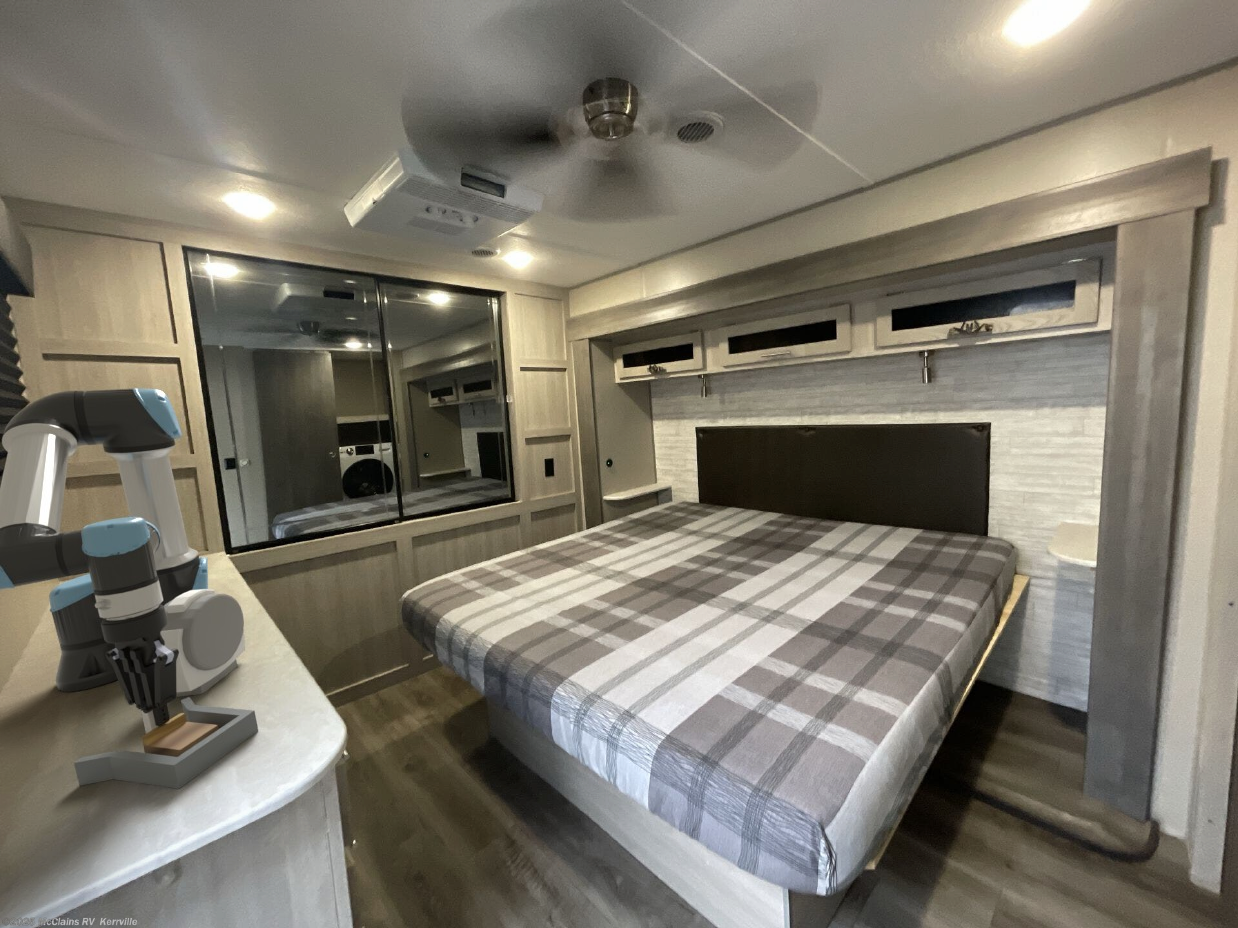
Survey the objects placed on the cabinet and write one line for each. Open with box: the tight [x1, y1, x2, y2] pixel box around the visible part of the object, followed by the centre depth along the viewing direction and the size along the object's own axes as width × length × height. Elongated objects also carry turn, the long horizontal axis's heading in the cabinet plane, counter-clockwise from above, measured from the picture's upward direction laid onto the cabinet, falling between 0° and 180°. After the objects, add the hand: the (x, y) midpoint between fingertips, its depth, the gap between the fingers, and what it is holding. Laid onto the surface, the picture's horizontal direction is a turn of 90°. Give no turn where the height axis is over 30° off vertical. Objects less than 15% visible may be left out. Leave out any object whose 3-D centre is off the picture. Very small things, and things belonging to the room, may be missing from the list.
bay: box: [73, 696, 259, 789], centre depth 82 cm, size 18×17×4 cm
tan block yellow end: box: [140, 712, 219, 757], centre depth 82 cm, size 8×6×5 cm
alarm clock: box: [160, 588, 246, 698], centre depth 103 cm, size 18×8×20 cm, turn 5°
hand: (161, 740), depth 83 cm, fingers closed
